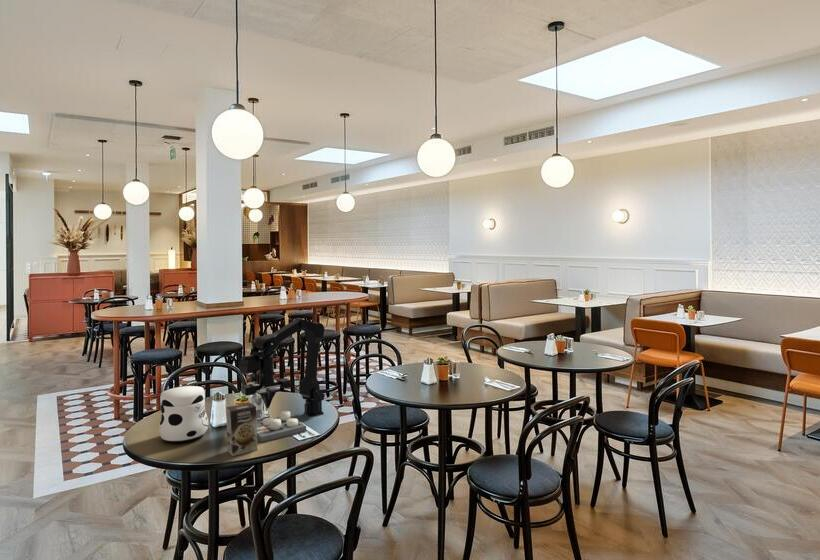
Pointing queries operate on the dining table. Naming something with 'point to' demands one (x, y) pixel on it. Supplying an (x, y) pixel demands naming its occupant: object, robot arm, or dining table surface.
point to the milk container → (183, 414)
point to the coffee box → (241, 429)
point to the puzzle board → (277, 431)
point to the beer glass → (257, 403)
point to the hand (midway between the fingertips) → (267, 407)
